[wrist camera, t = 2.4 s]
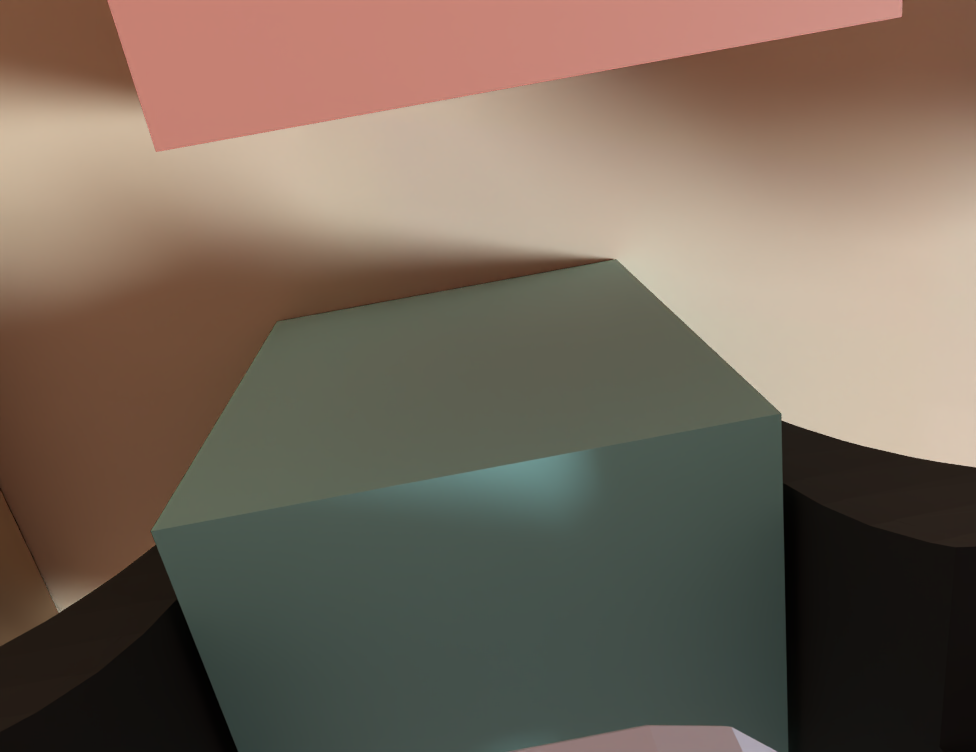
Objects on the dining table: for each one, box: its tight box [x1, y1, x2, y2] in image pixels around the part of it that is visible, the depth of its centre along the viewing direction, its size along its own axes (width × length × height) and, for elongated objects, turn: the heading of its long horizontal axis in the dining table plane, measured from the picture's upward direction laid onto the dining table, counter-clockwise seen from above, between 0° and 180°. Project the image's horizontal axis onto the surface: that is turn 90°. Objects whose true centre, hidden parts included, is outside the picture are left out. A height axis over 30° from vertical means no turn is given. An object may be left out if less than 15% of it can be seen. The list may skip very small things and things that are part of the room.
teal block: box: [151, 259, 788, 752], centre depth 10 cm, size 6×6×6 cm
